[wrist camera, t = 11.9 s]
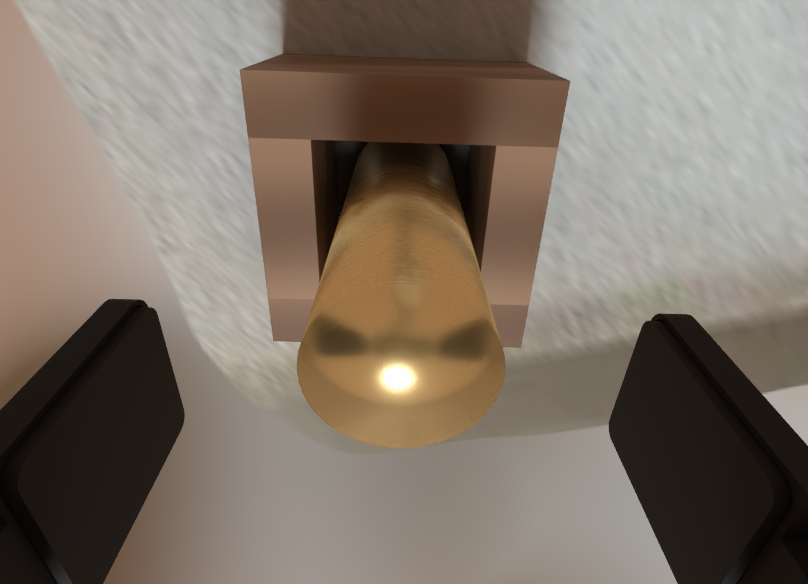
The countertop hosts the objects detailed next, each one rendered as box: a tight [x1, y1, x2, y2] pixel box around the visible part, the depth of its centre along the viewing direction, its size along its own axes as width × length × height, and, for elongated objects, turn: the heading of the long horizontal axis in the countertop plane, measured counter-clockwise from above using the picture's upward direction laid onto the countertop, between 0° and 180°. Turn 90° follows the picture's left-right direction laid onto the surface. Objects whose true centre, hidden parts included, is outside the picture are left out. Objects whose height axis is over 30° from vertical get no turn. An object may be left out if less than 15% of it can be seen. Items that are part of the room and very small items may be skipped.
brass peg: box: [297, 142, 505, 448], centre depth 16 cm, size 4×4×14 cm
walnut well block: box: [240, 54, 570, 347], centre depth 20 cm, size 10×10×6 cm
